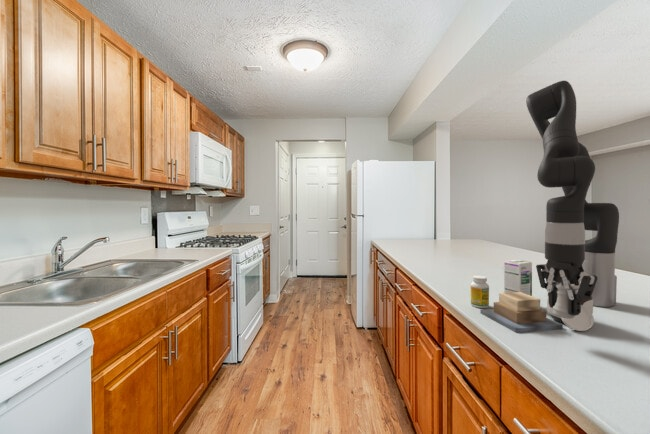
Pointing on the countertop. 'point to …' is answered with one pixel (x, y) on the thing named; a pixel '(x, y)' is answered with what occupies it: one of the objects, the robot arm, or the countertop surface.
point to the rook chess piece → (562, 302)
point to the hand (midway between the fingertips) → (563, 310)
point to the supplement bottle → (480, 292)
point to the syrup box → (518, 276)
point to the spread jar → (577, 316)
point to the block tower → (520, 313)
